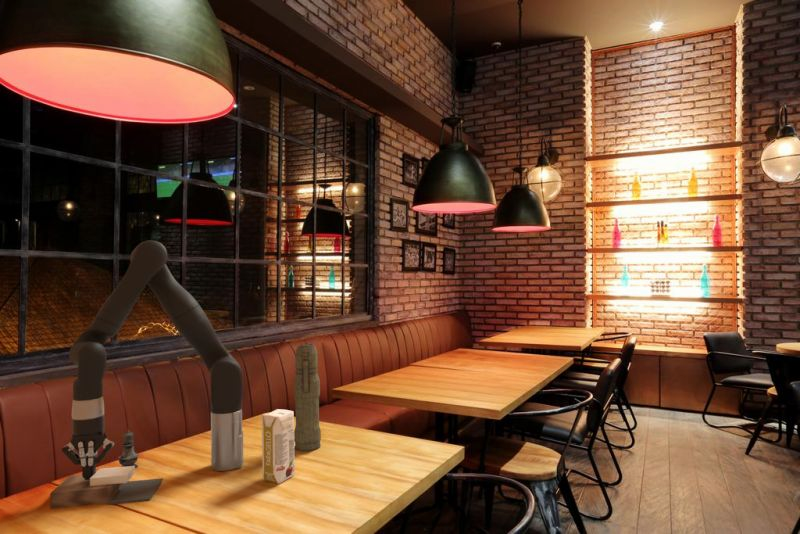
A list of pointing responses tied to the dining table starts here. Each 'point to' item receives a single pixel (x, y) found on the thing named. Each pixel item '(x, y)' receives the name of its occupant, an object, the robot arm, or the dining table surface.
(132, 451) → the salt shaker
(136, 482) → the mat
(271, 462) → the juice carton
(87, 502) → the block
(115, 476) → the tile
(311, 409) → the thermos
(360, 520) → the dining table surface
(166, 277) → the robot arm
